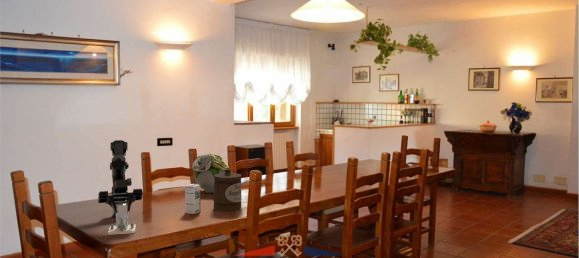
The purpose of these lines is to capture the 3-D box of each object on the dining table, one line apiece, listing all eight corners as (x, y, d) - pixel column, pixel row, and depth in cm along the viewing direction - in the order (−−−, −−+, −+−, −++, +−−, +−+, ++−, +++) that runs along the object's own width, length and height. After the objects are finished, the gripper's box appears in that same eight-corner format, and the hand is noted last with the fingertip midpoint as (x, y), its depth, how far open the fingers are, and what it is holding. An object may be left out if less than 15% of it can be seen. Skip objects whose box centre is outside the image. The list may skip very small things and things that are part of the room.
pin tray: (110, 228, 213) (110, 221, 213) (135, 226, 216) (135, 220, 216) (107, 234, 203) (107, 227, 203) (134, 233, 206) (134, 226, 206)
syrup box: (194, 214, 241) (194, 186, 240) (184, 213, 243) (184, 185, 242) (200, 211, 246) (200, 184, 245) (191, 210, 248) (191, 183, 247)
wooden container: (232, 212, 246) (232, 170, 244) (208, 209, 252) (208, 168, 251) (246, 206, 259) (246, 167, 258) (223, 204, 265) (223, 165, 264)
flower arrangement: (184, 194, 292) (184, 154, 290) (203, 187, 315) (203, 150, 314) (221, 197, 284) (221, 156, 283) (237, 189, 308) (237, 152, 307)
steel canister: (116, 225, 211) (116, 203, 211) (128, 224, 213) (128, 202, 212) (115, 228, 206) (115, 205, 206) (128, 227, 208) (127, 205, 207)
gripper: (98, 173, 207) (100, 203, 198) (142, 171, 216) (146, 199, 206) (97, 188, 215) (99, 217, 206) (139, 185, 223) (143, 213, 214)
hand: (122, 211), depth 208 cm, fingers closed on steel canister, 5 cm apart
